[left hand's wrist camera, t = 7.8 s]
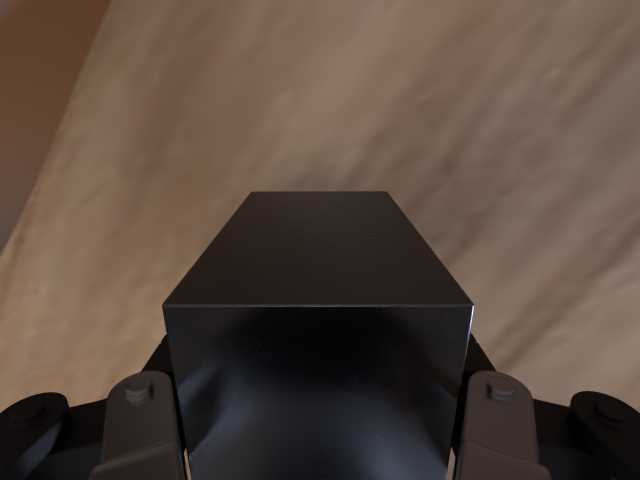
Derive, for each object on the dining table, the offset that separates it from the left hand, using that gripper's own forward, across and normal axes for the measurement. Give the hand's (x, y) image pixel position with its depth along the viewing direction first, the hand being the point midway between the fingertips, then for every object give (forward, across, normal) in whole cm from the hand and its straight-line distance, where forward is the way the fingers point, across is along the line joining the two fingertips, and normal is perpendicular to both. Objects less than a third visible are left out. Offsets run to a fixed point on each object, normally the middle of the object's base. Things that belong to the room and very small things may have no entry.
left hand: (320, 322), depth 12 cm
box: (+5, 0, -8) cm, 9 cm away
